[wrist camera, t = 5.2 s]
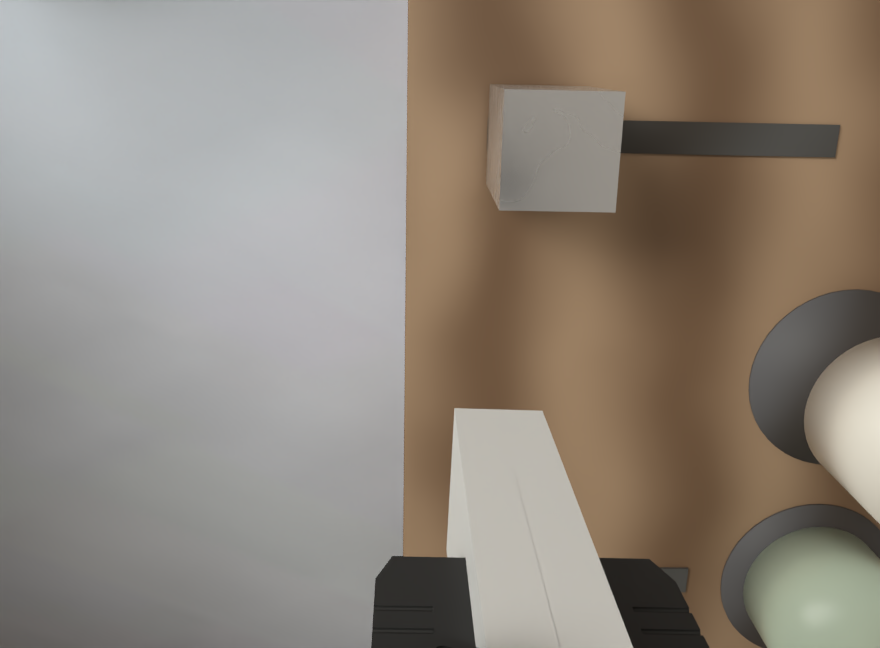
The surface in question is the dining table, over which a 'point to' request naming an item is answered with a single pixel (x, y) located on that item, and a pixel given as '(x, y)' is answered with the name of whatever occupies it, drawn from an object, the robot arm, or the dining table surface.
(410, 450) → the console
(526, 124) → the slider aluminium
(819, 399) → the button ivory
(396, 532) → the dining table surface
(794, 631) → the button sage
